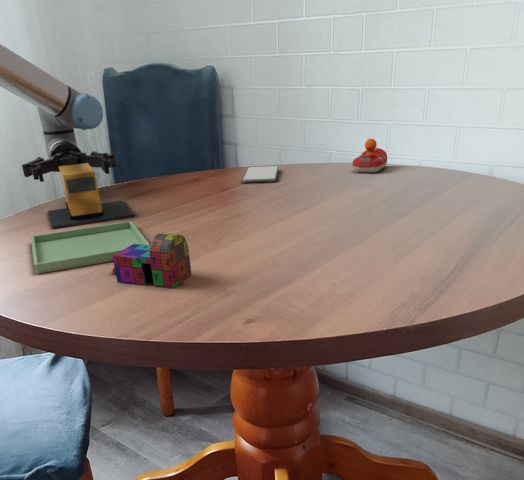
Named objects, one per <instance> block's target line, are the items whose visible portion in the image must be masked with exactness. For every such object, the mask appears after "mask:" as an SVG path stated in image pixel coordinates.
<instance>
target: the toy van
mask: <svg viewBox="0 0 524 480" xmlns="http://www.w3.org/2000/svg"><path fill="white" fill-rule="evenodd" d="M59 171H60V173H59V174H60V179H61V184H62V188H63V193H64V196H65V197H64V198H65V208H67V211H68V212H69V215H70V219H76V217H75V216H78V215H85V214H92V213H98V215H104V212H103V208H102V205H101V203H102V202H101V198H100V193H99V192H100V191H99V187H98V182H97V177H96V171H94V169H93V167H90V165H89V164H88V163H84V164H76V165H67V166H59Z"/></svg>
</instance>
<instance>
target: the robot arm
mask: <svg viewBox="0 0 524 480" xmlns="http://www.w3.org/2000/svg"><path fill="white" fill-rule="evenodd" d="M0 88H3V89H5V90H6V91H8V92H10V93H12V94H14V95H15V96H17V97H19V98H21V99H22V100H25V101H26V102H28V103H30V104H31V105H33V106H35V107H36V108H37V111H38V117H39V120H40V124H41V128H42V133H43V137H44V143H45V146H46V147H45V149H46V155H47V156H48V158H47V159H45V158H44V157H41V156H38V157H36V158H35V159H33V160H30V161H28V162H26V163H23V164H21V168H22V172H23V176H24V177H25V178H30V177H31V176H32V177H33V180H34V181H37V180H38V181H39V182H40V183H44V182H45V180H44V175H45V174H48V173H51V172H52V173H59V174H60V171H59V166H67V165H76V164H84V163H88V164H89V165H90V167H91V168H99V169H101V170H102V171H103V173H105V175H108V174H110V169H111V168H112V167H114V168H116V167H118V161H117V157H116V154H114V153H113V154H112V153H108V152H98V151H94V150H93V151H91V152H90V154H87V153H86V152H82V151H81V149H80V148H79V146H78V143H77V138H76V133H75V129H78V130H83V131H87V130H93V129H96V128H98V127H99V126H100V125H101V123H102V122H103V118H104V110H103V109H104V108H103V106H102V103H101V102H100V100H99V99H98V98H96V96H94V95H92V94H88V93H85V92H83V93H82V92H79V91H78V90H76V89H75V88H73V87H72V86H69V85H68V84H66V83H64V82H63V81H61V80H59V79H58V78H57V77H55V76H53V75H51V74H50V73H48V72H47V71H45V70H43V69H42V68H40V67H39V66H37V65H36V64H34V63H32V62H31V61H29V60H27V59H25V58H24V57H22V56H21V55H19V54H17V53H16V52H14V51H13V50H11V49H10V48H7V47H6V46H4V45H3V44H1V43H0Z"/></svg>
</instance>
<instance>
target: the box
mask: <svg viewBox="0 0 524 480" xmlns="http://www.w3.org/2000/svg"><path fill="white" fill-rule="evenodd" d="M30 243H31V250H32V261H33V267H34V270H35V274H36V275H39V274H45V273H51V272H56V271H62V270H67V269H68V270H69V269H73V268H79V267H86V266H90V265H97V264H103V263H109V262H113V255H115V254H117V253H118V252H120V251H122V250H124V249H126V248H127V247H129V246H131V245H133V244H142V245H151V243H149V242H148V239H146V238H145V236H144V235H143V234H142V232H141V231H140V230H139V229H138V227H137V226H136V225H135V224H134V222H133V221H132V220H129V221H128V220H127V221H119V222H114V223H107V224H101V225H95V226H93V225H92V226H88V227H87V226H86V227H80V228H74V229H66V230H61V231H55V232H47V233H42V234H35V235H30Z"/></svg>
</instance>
